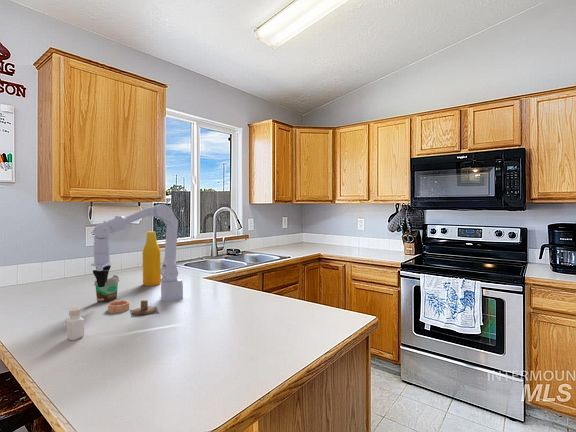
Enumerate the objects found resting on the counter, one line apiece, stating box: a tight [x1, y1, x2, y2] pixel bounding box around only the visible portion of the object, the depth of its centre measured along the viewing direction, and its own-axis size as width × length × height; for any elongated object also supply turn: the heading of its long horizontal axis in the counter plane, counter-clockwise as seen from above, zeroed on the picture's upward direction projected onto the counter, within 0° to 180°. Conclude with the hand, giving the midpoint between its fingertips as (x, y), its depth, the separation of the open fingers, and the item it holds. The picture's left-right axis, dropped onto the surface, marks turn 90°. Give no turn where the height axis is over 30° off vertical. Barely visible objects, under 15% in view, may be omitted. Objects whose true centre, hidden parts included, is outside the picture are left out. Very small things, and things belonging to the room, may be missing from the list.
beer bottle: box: [142, 231, 162, 287], centre depth 179 cm, size 9×9×29 cm
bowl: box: [107, 299, 130, 314], centre depth 134 cm, size 8×8×3 cm
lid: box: [132, 299, 156, 316], centre depth 131 cm, size 9×9×4 cm
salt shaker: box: [66, 307, 85, 341], centre depth 106 cm, size 4×4×10 cm
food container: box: [93, 275, 120, 303], centre depth 150 cm, size 12×6×10 cm, turn 168°
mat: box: [129, 306, 160, 318], centre depth 131 cm, size 10×10×1 cm
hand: (102, 284), depth 137 cm, fingers open, 7 cm apart
